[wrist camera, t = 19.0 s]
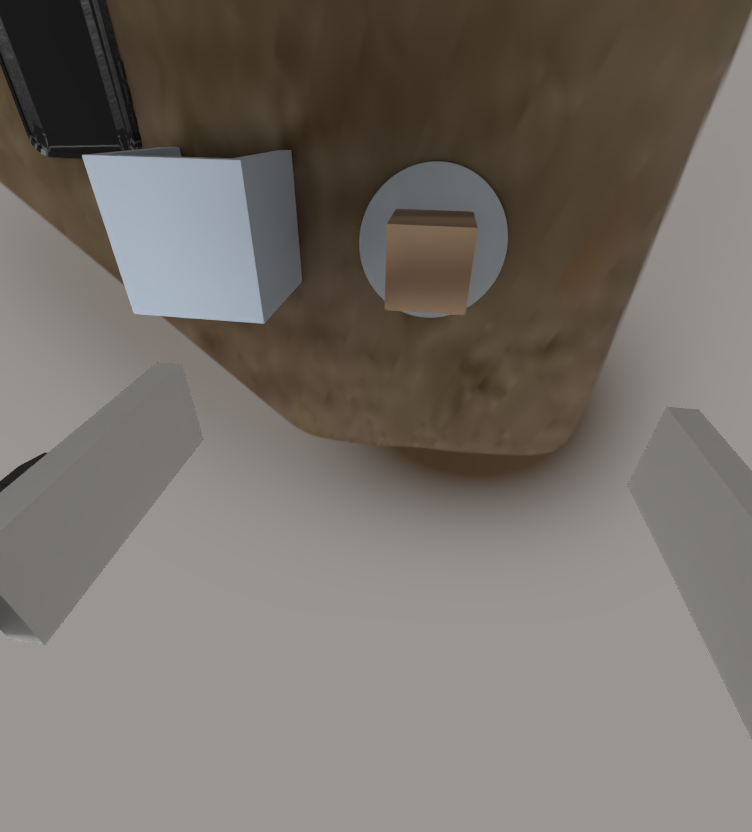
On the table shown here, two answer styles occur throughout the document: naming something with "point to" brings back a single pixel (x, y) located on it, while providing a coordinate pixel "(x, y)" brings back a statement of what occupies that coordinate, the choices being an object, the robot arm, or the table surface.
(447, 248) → the walnut block
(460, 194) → the dish
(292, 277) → the blue cover
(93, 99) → the phone
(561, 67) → the table surface
